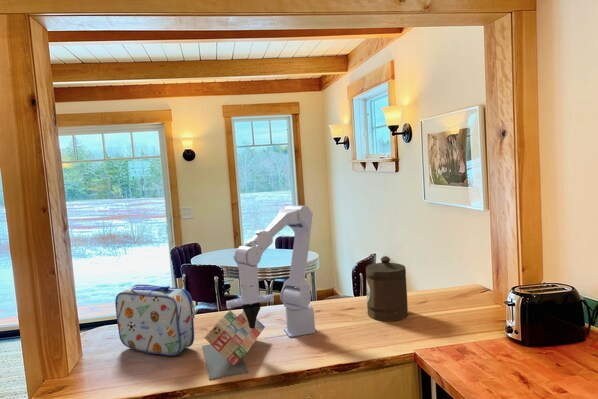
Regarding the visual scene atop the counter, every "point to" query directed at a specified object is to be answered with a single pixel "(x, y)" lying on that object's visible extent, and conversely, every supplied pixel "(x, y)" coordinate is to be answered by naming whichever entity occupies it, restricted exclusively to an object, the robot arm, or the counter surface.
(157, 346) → the lunch box
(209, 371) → the mat
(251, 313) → the robot arm
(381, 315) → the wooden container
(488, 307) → the counter surface
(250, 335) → the stack of blocks
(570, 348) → the counter surface
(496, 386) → the counter surface
